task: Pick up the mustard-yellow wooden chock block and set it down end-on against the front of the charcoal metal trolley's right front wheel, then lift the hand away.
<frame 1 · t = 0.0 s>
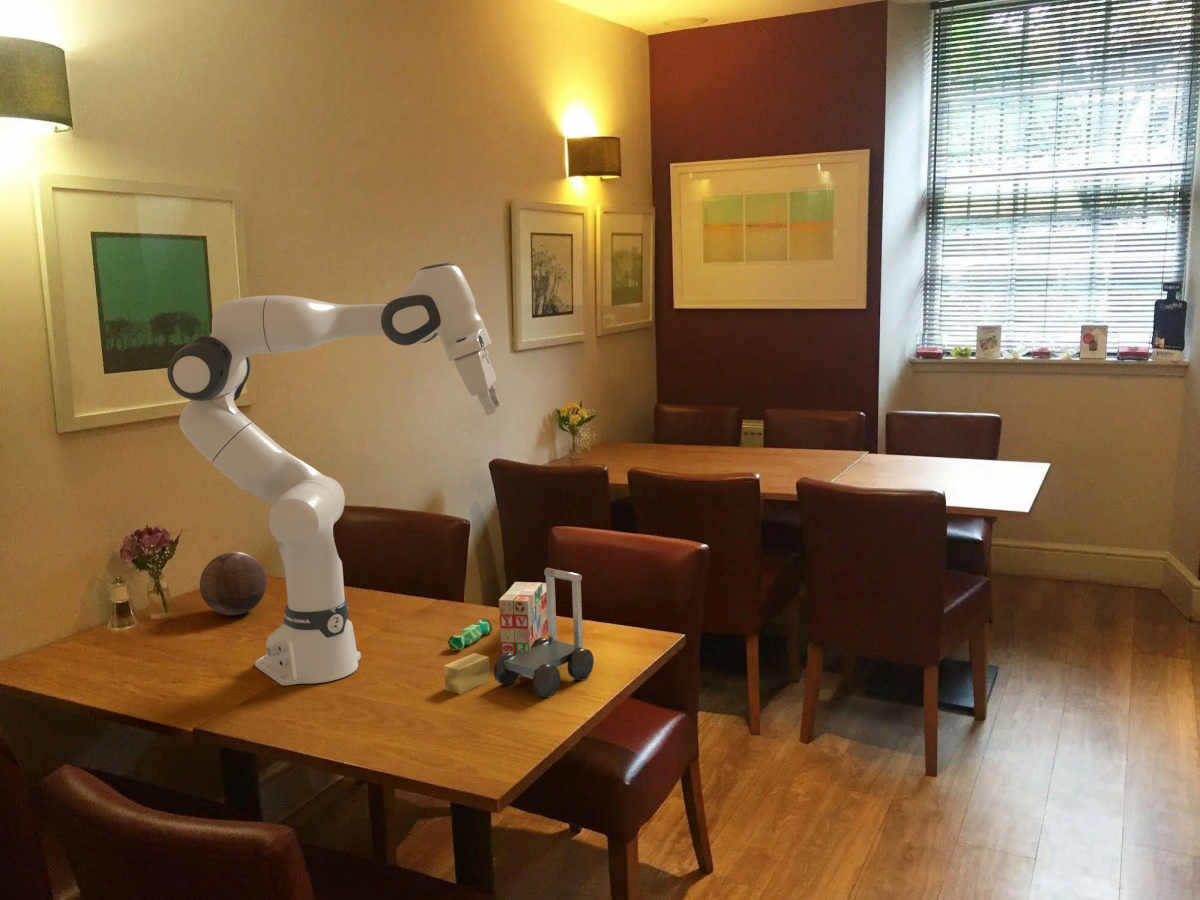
hand: (493, 410, 195), 52 cm above the table, tool tilted 20°, fingers open, 8 cm apart
wooden sphere: (236, 614, 241), on the table
trolley: (544, 681, 195), on the table
stack of blocks: (529, 639, 219), on the table
chock: (468, 685, 194), on the table
candy: (471, 643, 218), on the table
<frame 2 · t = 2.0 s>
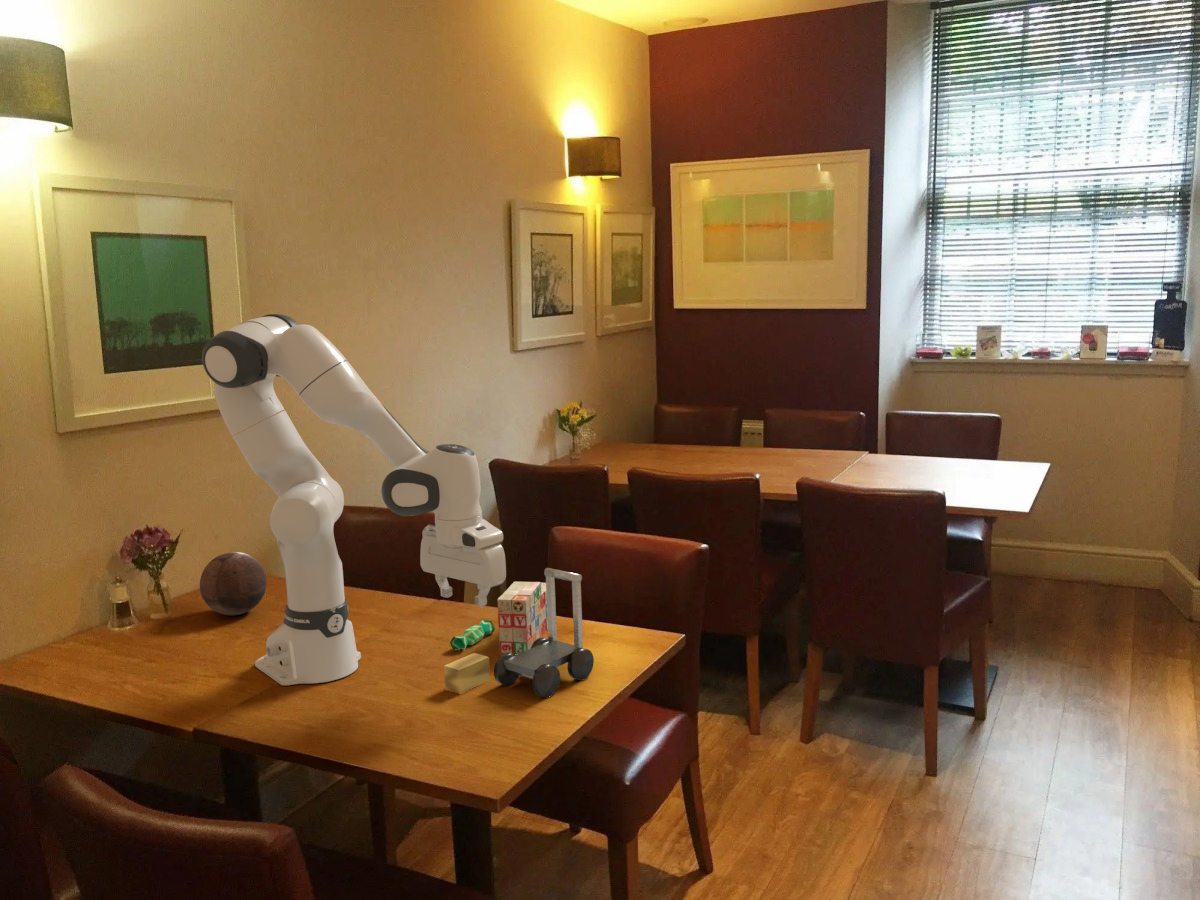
hand: (463, 600, 191), 17 cm above the table, tool pointing down, fingers open, 8 cm apart
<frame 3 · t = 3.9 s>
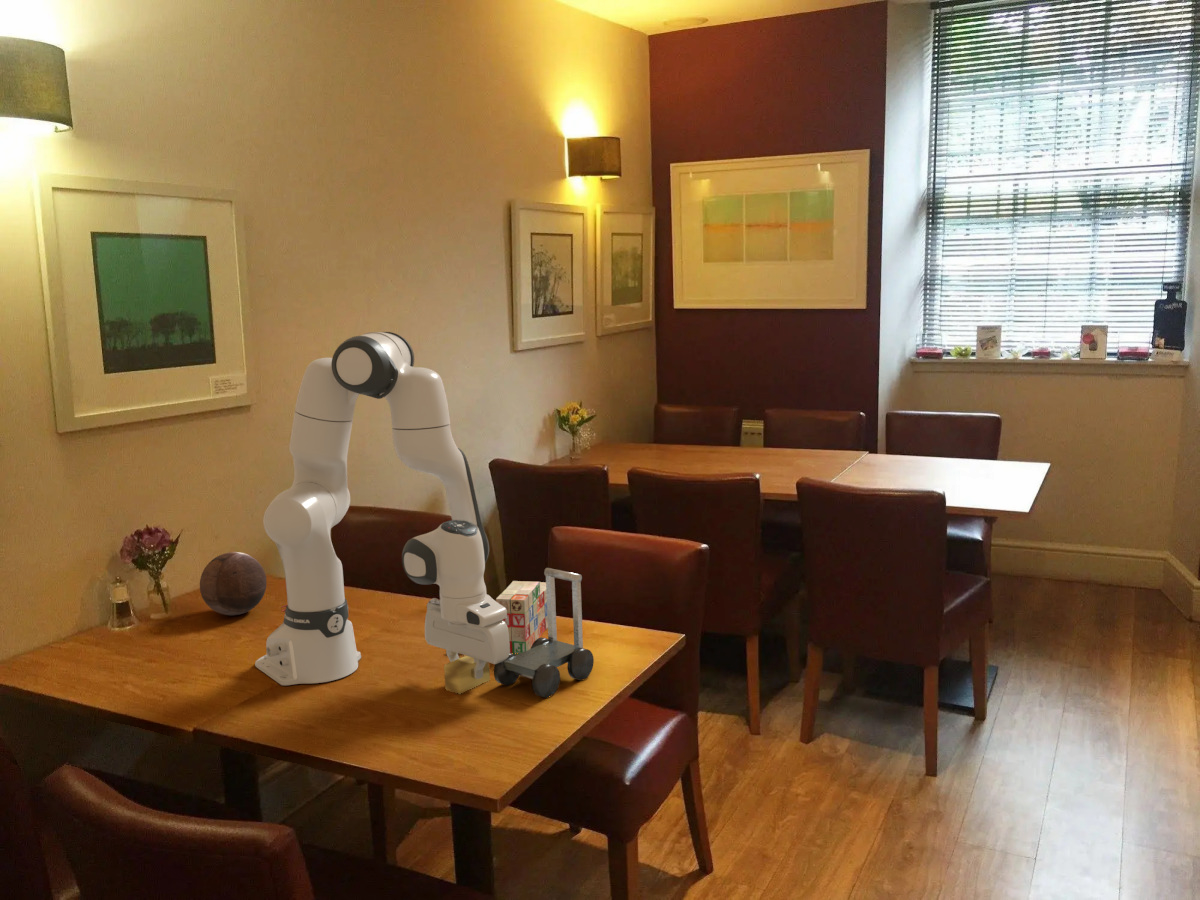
hand: (467, 674, 194), 2 cm above the table, tool pointing down, fingers closed on chock, 4 cm apart
chock: (467, 685, 194), on the table, touching gripper
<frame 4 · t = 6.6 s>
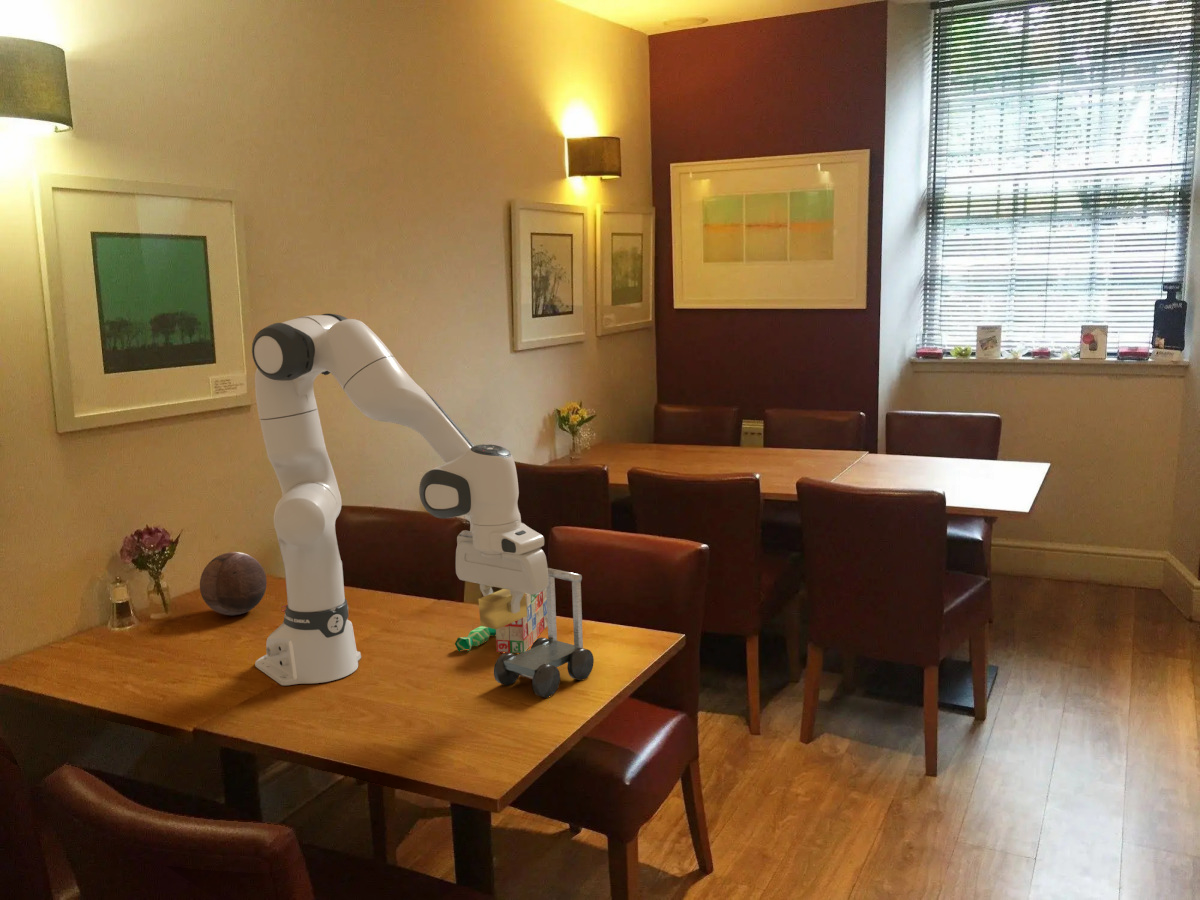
hand: (503, 609, 181), 18 cm above the table, tool pointing down, fingers closed on chock, 4 cm apart
chock: (504, 620, 182), point 16 cm above the table, touching gripper
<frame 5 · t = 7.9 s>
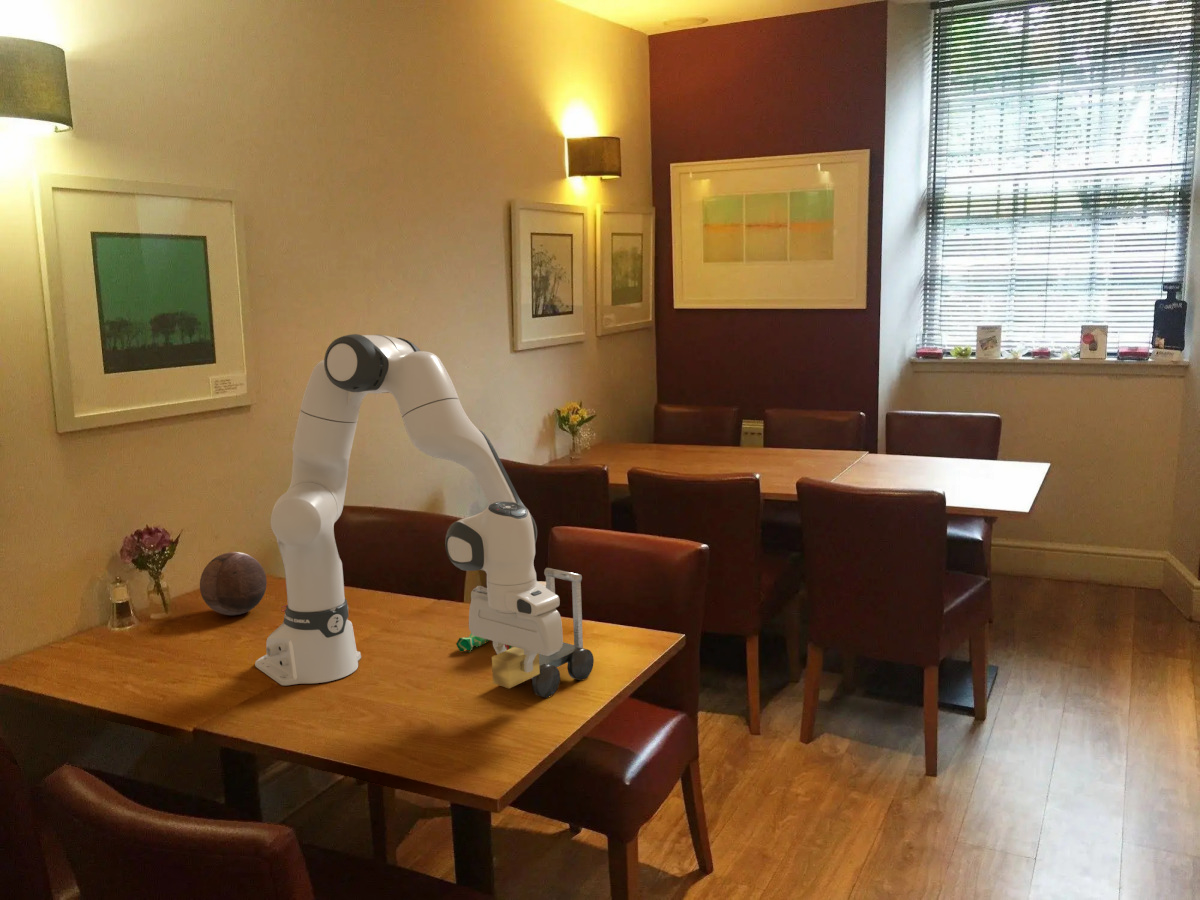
hand: (515, 667, 180), 8 cm above the table, tool pointing down, fingers closed on chock, 4 cm apart
chock: (516, 678, 181), point 6 cm above the table, touching gripper
when the fingers open (4 cm above the table, at t = 9.2 s): chock drops 2 cm, on the table.
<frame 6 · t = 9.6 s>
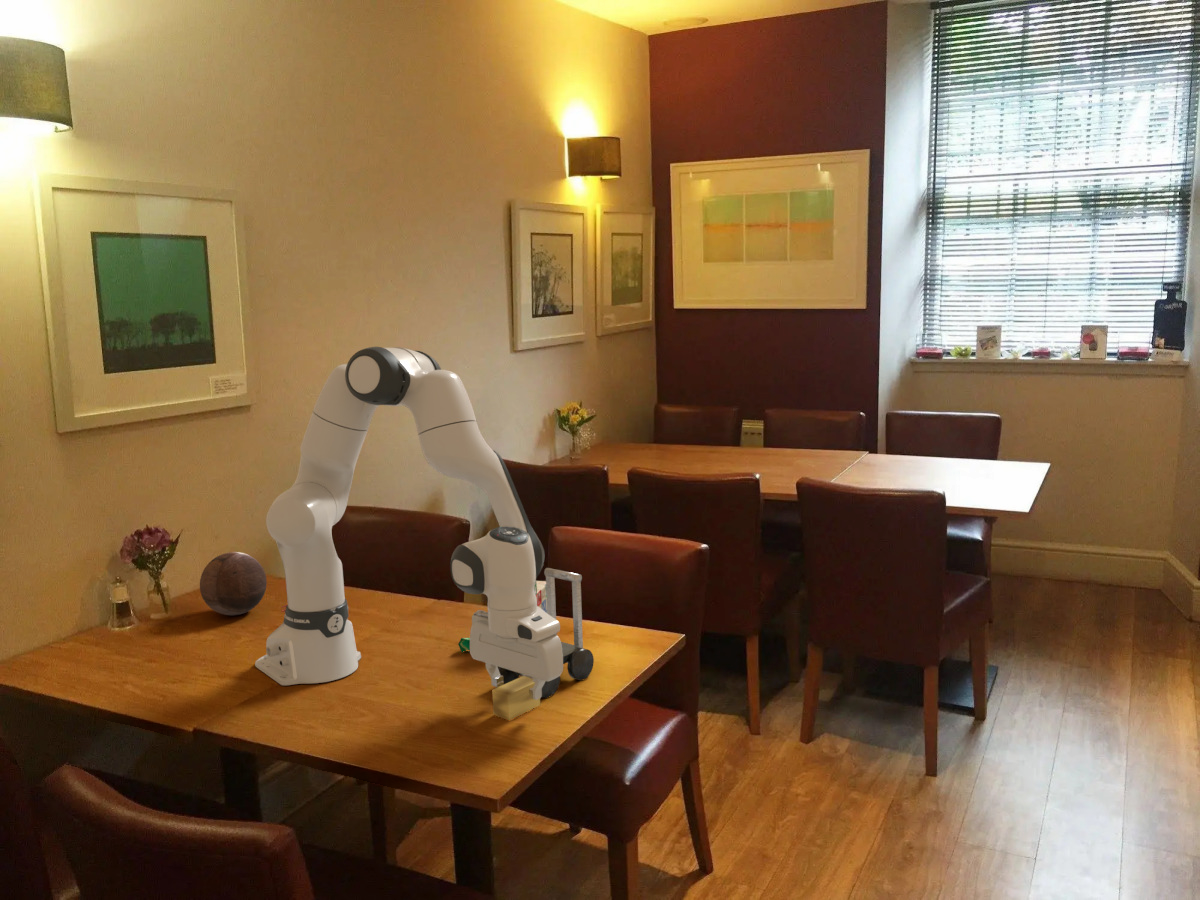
hand: (516, 691, 181), 4 cm above the table, tool pointing down, fingers open, 8 cm apart
chock: (517, 711, 182), on the table
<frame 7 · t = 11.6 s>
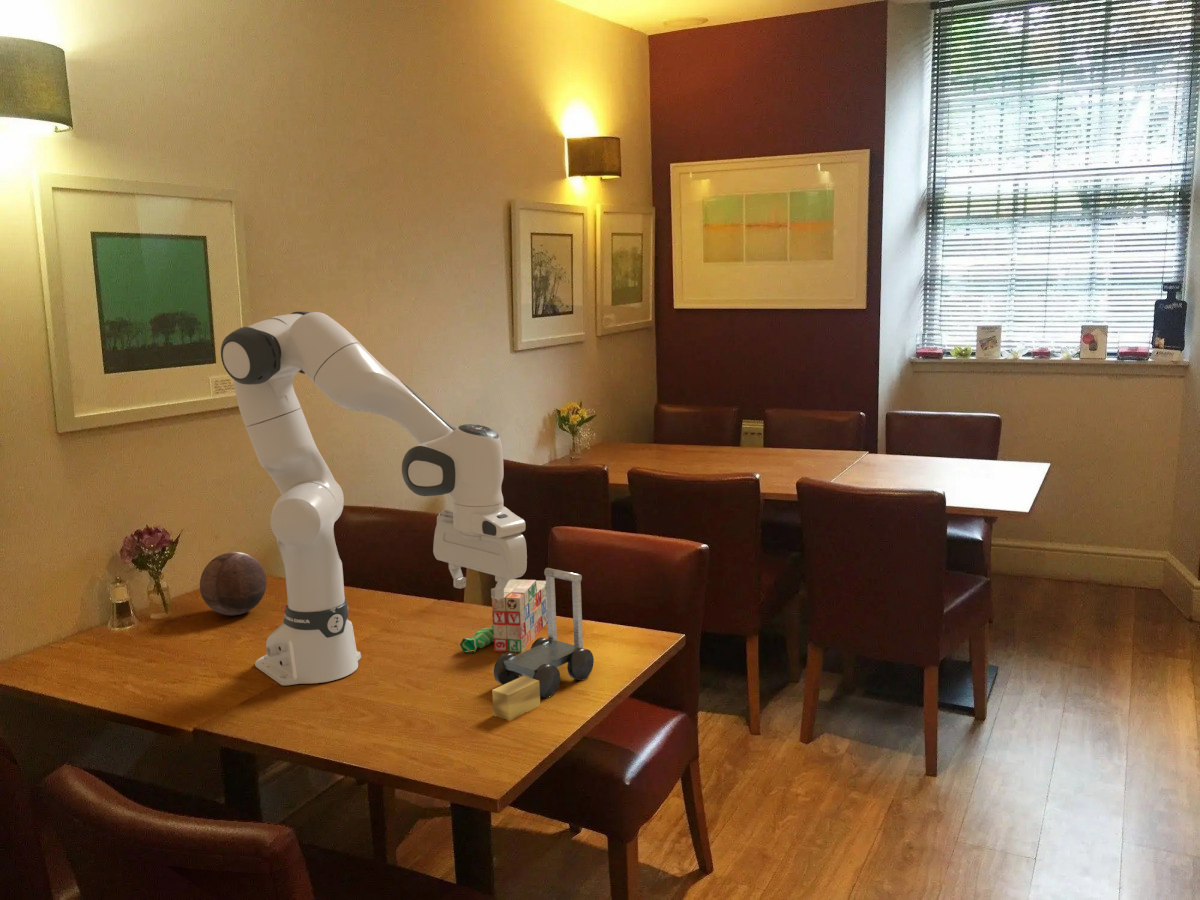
hand: (478, 592, 179), 22 cm above the table, tool pointing down, fingers open, 8 cm apart
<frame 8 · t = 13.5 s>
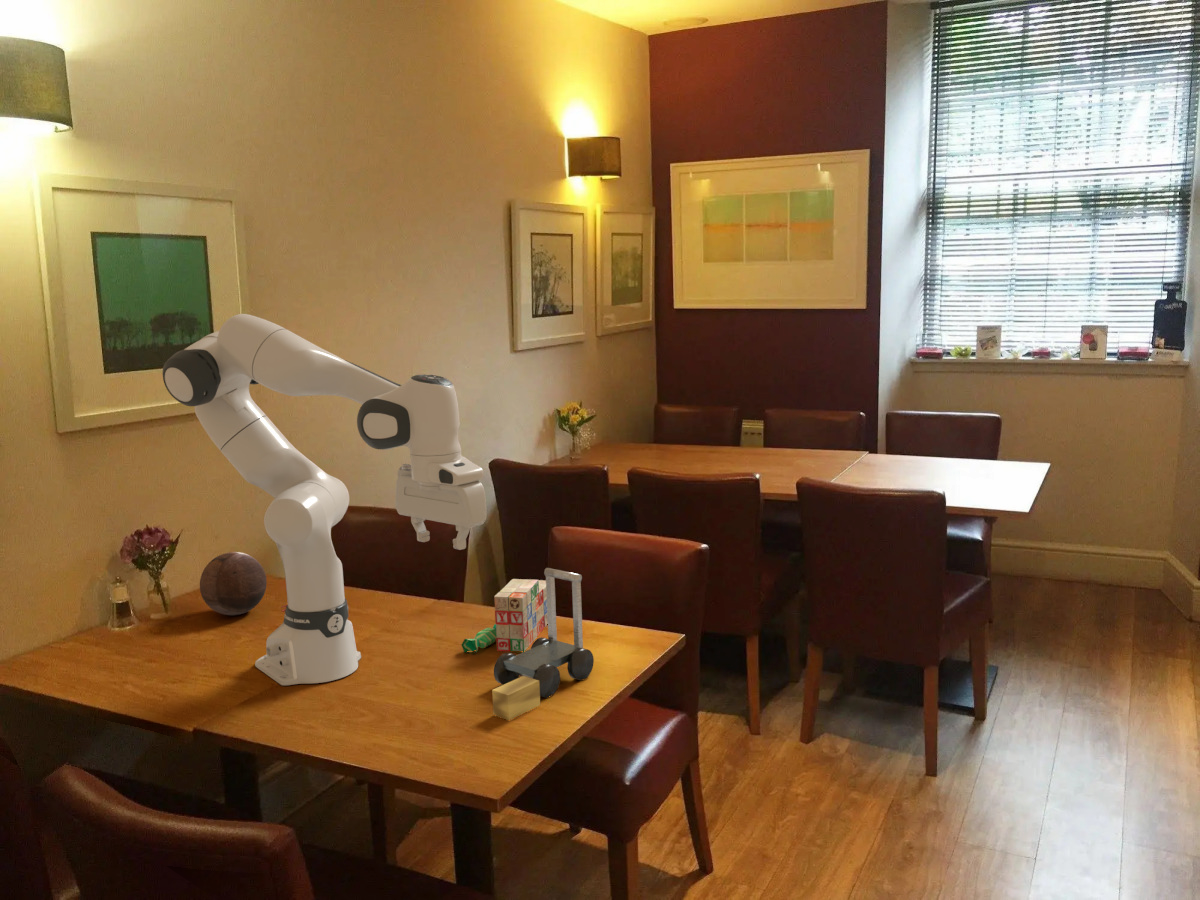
hand: (441, 544, 177), 31 cm above the table, tool pointing down, fingers open, 8 cm apart
at the end: chock 0.3 cm from the target spot on the table beside the trolley, on the table; chock tilted 0°; the gripper is holding nothing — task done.
